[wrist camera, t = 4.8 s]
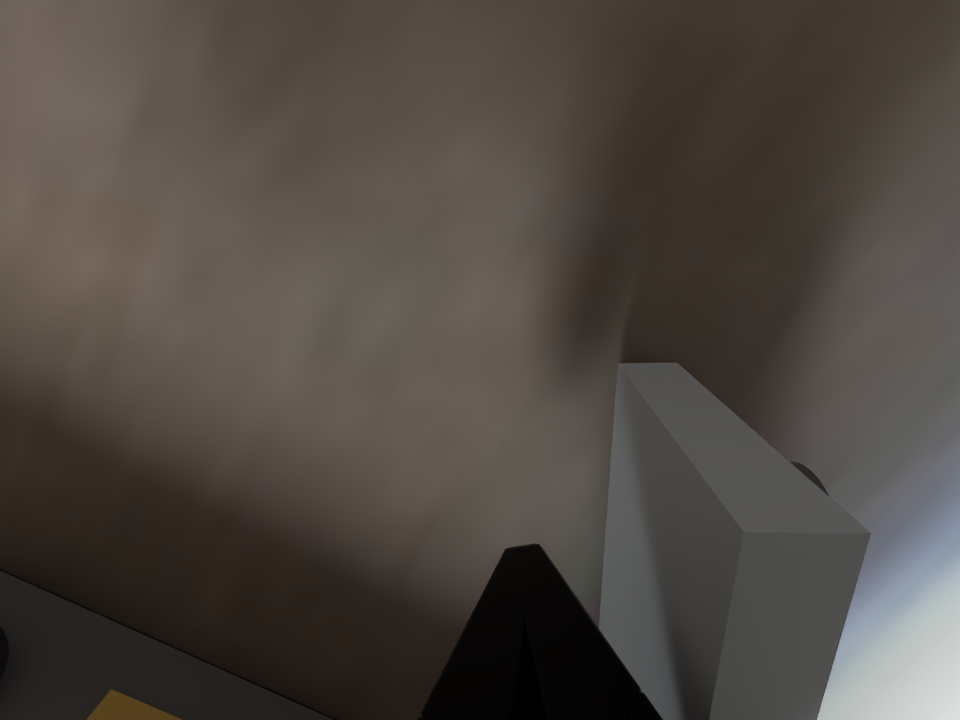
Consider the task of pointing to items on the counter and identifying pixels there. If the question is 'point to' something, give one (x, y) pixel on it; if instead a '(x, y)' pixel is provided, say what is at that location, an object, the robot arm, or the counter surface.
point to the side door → (719, 558)
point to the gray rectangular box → (111, 670)
